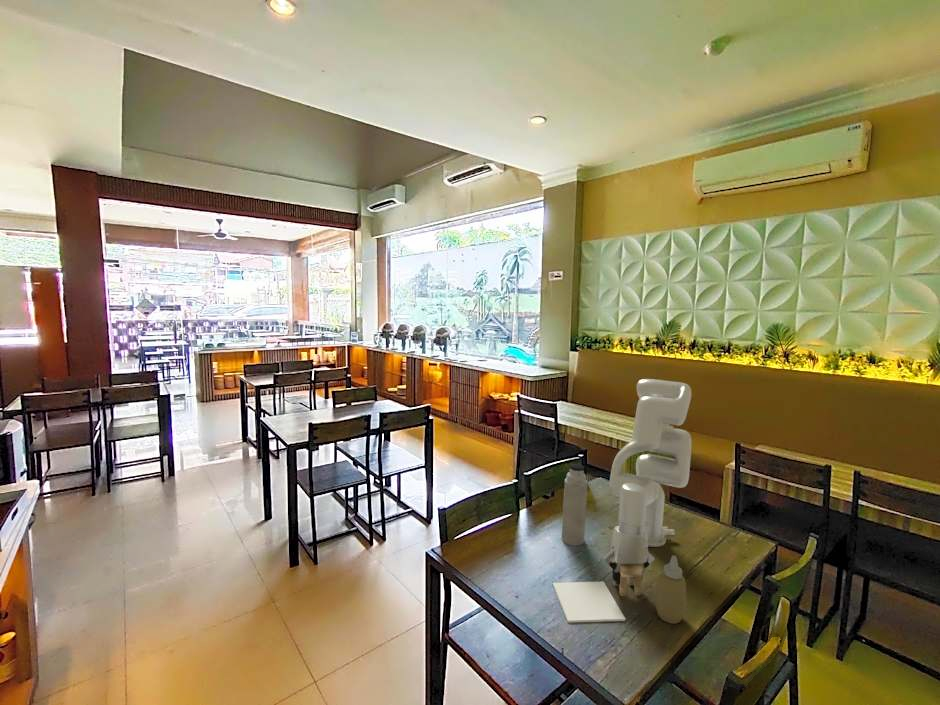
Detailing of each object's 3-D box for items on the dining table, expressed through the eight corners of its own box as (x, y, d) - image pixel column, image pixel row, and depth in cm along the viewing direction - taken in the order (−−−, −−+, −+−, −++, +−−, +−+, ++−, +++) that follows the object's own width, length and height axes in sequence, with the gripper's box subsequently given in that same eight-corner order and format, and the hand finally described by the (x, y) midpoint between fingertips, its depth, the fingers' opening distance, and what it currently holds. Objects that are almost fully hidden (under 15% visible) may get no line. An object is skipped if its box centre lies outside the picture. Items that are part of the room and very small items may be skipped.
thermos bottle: (560, 533, 166) (564, 461, 163) (582, 534, 166) (586, 462, 162) (562, 544, 159) (566, 469, 155) (585, 546, 158) (590, 470, 154)
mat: (603, 583, 138) (603, 581, 137) (625, 620, 122) (625, 618, 122) (552, 584, 136) (552, 582, 136) (567, 622, 120) (568, 620, 120)
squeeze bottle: (648, 607, 127) (652, 548, 125) (675, 606, 128) (680, 547, 126) (662, 628, 119) (667, 565, 117) (691, 626, 120) (697, 564, 118)
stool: (631, 582, 138) (633, 557, 137) (640, 595, 132) (642, 568, 131) (613, 583, 138) (614, 557, 137) (620, 596, 132) (622, 569, 131)
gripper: (653, 519, 137) (648, 573, 139) (598, 519, 135) (594, 574, 138) (665, 531, 129) (660, 589, 132) (607, 532, 128) (603, 590, 130)
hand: (627, 581), depth 135 cm, fingers closed on stool, 6 cm apart
